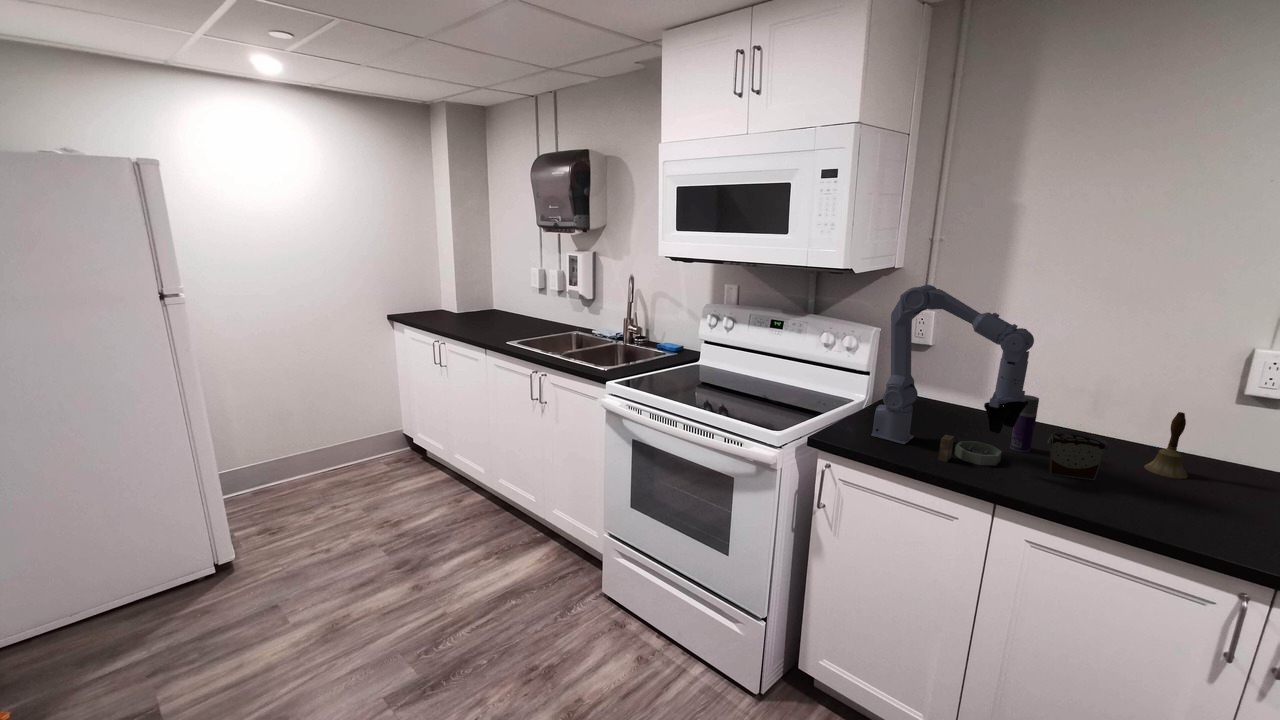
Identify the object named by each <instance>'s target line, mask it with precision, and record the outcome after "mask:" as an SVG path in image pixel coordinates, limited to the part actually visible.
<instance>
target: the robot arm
mask: <svg viewBox="0 0 1280 720" xmlns="http://www.w3.org/2000/svg"><path fill="white" fill-rule="evenodd" d="M926 310H943V311H946V312H948V313H949V314H951V315H953V316H955V317H957V318H959V319H960V320H963V321H965V322H967V323H968V324H970V325H972V328H973V331H974V333H976V334H978V335H980V336H981V337H984V338H985V339H987V340H989V341H991V342H993V343H994V344H995V345H999V346H1000V348H1001V351H1002V354H1001V358H1000V360H999V361H1000V362H999V368H998V373H997V380H996V385H995V390H994V392H993V394H992V396H991V397H990V398H989V401H987V402H984V406H983V407H984V409H985V412H986V413H987V418H988V425H989V432H992V433H995V434H1000V433H1001V432H1002V429H1003V425H1004V426H1006V427H1008V428H1009V427H1010V428H1013V427H1014V426H1015V424H1016V422H1017V419H1018V417H1019V415H1020V414H1021V412H1022V410H1023V409H1024V408H1025V407H1026V406H1027V405H1028V401H1026V400H1027V398H1025V397H1024V395H1026V390H1024V387H1025V380H1026V375H1027V371H1028V365H1029V357H1030V351H1029V350H1030V349H1032V347H1033V346H1034V344H1035V338H1034V336H1033V334H1032V333H1031V332H1030V331H1029V330H1028V329H1027V328H1023V327H1022V328H1021V327H1020V328H1019V327H1018V325H1017V324H1016V323H1014V324H1011V323H1009V322H1007V321H1006V320H1004V319H1002V318H1000V314H998V313H996V312H993V313H991V312H984V313H983V312H982V313H980V312H979V311H977V310H975V309H974V308H972V307H971V306H969V305H967V304H966V303H964V302H962V301H961V300H959V299H958V298H956V297H954V296H952V295H951V294H949V293H947V291H944V289H943V290H942V289H940V288H937V287H935V286H934V285H931V284H924V285H921V286H913V287H911V288H909V289H907V290H906V291H904V292H903V293H901V294H900V296H899V300H898V302H896V304H895V306H894V308H893V310H892V312H891V314H890V376H889V378H888V380H887V383H886V385H885V386H886V388H885V391H884V393H883V395H882V400H883V404H879V405H878V406H877V407H876V408H875V412H874V419H873V426H872V433H871V436H872V437H875V438H879V439H881V440H882V439H883V440H886V441H889V442H895V443H898V444H900V445H901V444H902V445H906V444H907V443H908V442H909V441H911V440H912V439H913V438H914V437H915V435H914V434H910V432H911V426H912V417H913V410H914V407H913V403H915V402H917V400H918V399H917V398H918V390H917V388H916V386H915V379H914V377H913V376H912V336H913V335H912V332H913V331H912V330H913V329H912V326H913V325H912V324H913V323H912V322H913V320H914V318H916V317H917V316H918V315H919V314H921V313H922V312H923V311H926Z"/></svg>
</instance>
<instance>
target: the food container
mask: <svg viewBox="0 0 1280 720" xmlns="http://www.w3.org/2000/svg"><path fill="white" fill-rule="evenodd" d="M1047 444H1049V445H1050V450H1049V451H1050V452H1049V465H1048V474H1049V475H1053V476H1059V477H1068V478H1075V479H1084V480H1091V481H1095V480H1096V478H1097V474H1098V472H1099V469H1100V467H1101V463H1102V461H1103V459H1104V455H1105V453H1106V451H1107V452H1108V451H1109V450H1110V449H1109V444H1108V441H1107V440H1104V439H1102V438H1101V437H1098V436H1095V435H1091V434H1087V433H1082V432H1078V431H1069V430H1066V431H1065V430H1061V431H1060V430H1059V431H1054V432H1052V433H1051V434H1050V436H1049V438H1048V439H1047Z"/></svg>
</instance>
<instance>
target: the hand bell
mask: <svg viewBox="0 0 1280 720" xmlns="http://www.w3.org/2000/svg"><path fill="white" fill-rule="evenodd" d="M1186 425H1187V420H1186V413H1185V412H1183V411H1182V412H1180V411H1178V412H1177V413H1176V415H1175V416H1174V417H1173V419H1172V420H1171V424H1170V438H1169V441H1168V445H1167V447H1166V448H1161V449H1159V450H1158V452H1157V454H1156V456H1155V458H1154V459H1153V460H1151V462H1149V463H1146V464H1145V465H1144V469H1145V470H1147V471H1148V472H1149V473H1151V474H1154V475H1157V476H1161V477H1162V478H1164V477H1165V478H1169V479H1174V480H1185V479H1188V477H1189V476H1188V473H1187V472H1186V471H1185V470H1184V467H1183V457H1184V456H1183V454H1182V453H1181V452H1179V451H1178V445H1179V440H1180V437H1181V435H1182V434H1183V433H1184V430H1185V428H1186Z"/></svg>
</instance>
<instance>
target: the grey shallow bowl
mask: <svg viewBox="0 0 1280 720" xmlns="http://www.w3.org/2000/svg"><path fill="white" fill-rule="evenodd" d="M1002 453H1003V452H1002V450H1000V449H999V448H997V447H996V446H994V445H993V444H988V443H985V442H980V441H976V440H974V441H973V440H967V441H966V440H962V441H961V440H960V441H958V443H957V444H955V447H954V456H956V457H957V458H959V459H960V460H962V461H964V462H967V463H971V464H974V465H977V466H978V465H979V466H997V465H998V464H999V463H1000V462H1001V459H1002Z"/></svg>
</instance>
